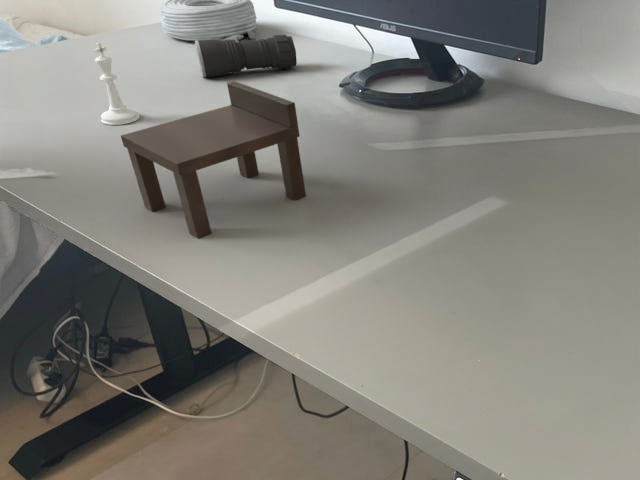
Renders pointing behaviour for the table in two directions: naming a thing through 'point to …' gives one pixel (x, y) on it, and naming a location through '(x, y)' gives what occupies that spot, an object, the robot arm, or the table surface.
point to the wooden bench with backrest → (216, 149)
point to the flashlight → (245, 55)
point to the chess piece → (113, 93)
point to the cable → (208, 19)
